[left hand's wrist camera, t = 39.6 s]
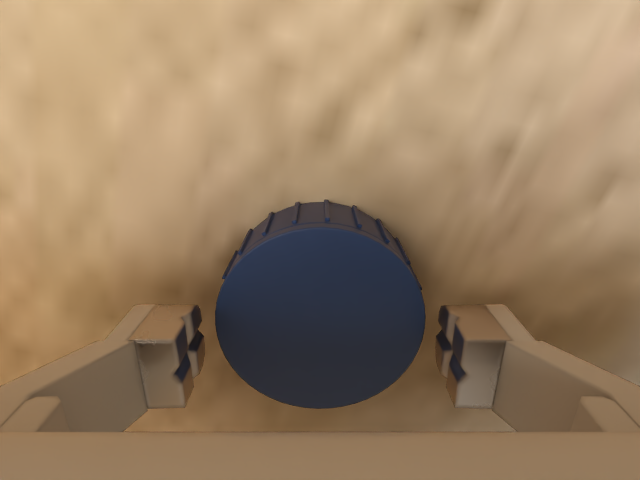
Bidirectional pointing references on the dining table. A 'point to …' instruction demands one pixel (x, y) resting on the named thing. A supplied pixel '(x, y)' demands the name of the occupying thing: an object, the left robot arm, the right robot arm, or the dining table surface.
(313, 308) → the lid
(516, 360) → the left robot arm
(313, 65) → the dining table surface
